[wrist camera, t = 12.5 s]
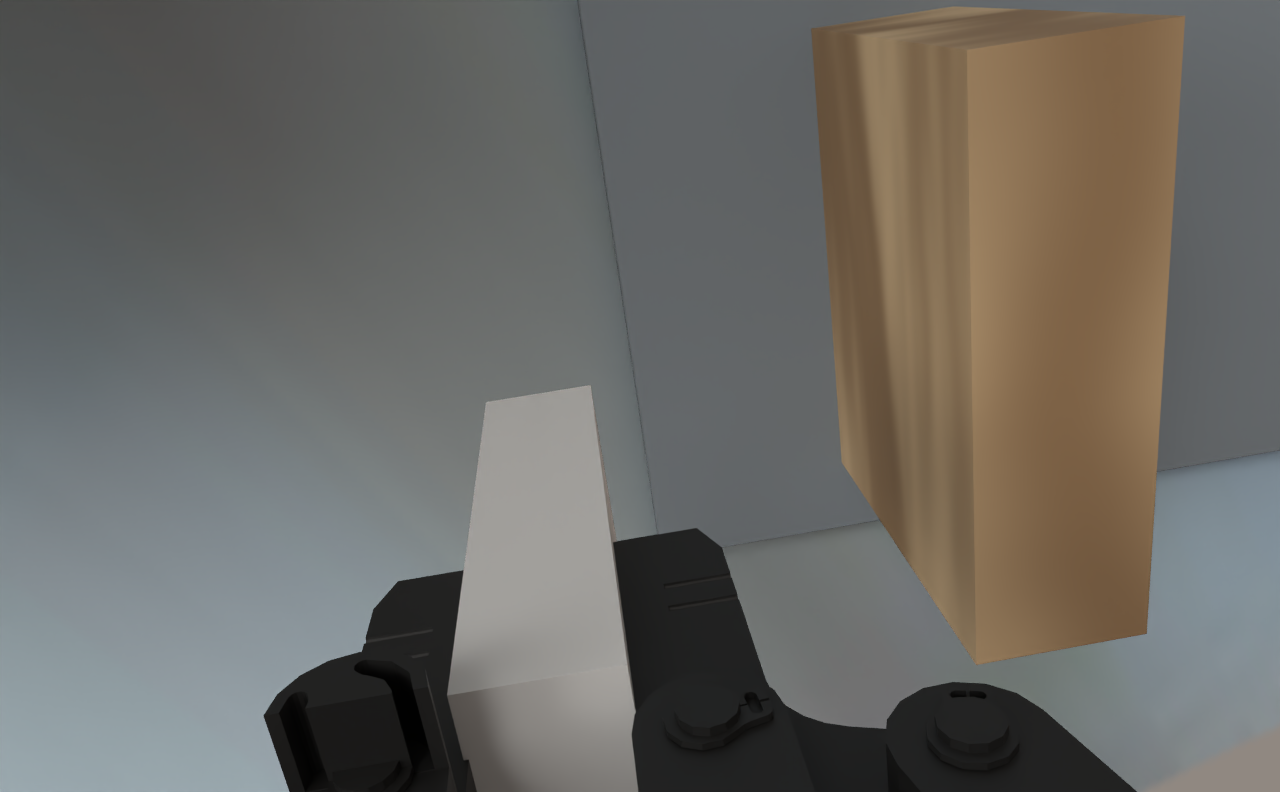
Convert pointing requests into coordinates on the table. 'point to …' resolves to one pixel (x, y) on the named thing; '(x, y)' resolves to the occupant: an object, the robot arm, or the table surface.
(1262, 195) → the mat
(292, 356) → the table surface
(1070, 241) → the slab
